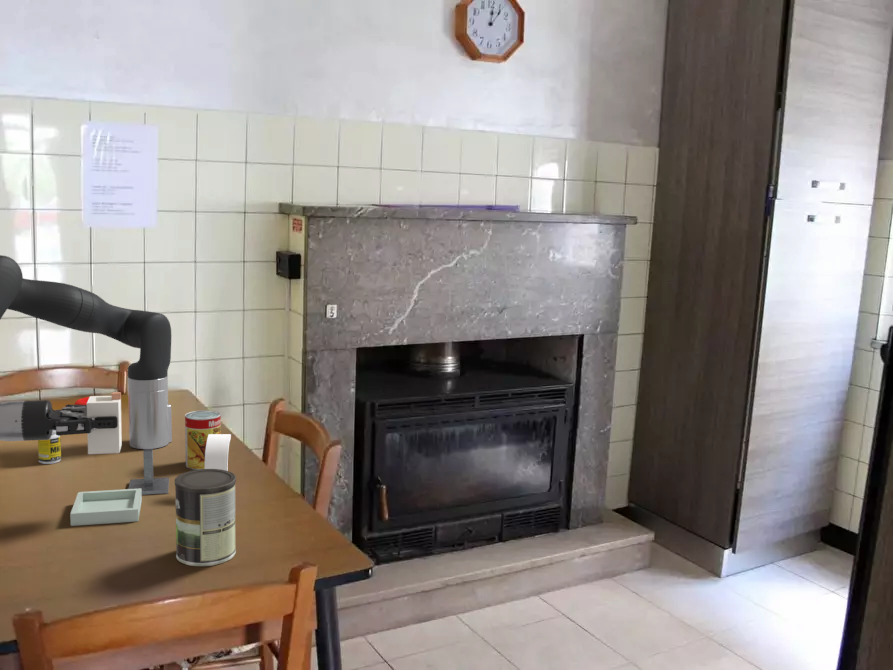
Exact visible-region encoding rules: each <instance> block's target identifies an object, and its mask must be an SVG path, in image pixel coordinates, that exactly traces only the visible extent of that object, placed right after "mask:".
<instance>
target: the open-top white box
mask: <svg viewBox="0 0 893 670" xmlns="http://www.w3.org/2000/svg"><path fill="white" fill-rule="evenodd" d="M88 397H89V399H88V402H87V416H94V417H105V416H116V417H117V423H118V425H117V427H116V428H108V429H96V430H94V431H91V433H88V434H87V455H102V454H120V452H121V449H122V445H123V443H122V442H123V441H122V440H123V439H122V436H123V435H122V392H120V391H117V392H116V391H115V392H114V391H113V392H111V395H90V396H88Z"/></svg>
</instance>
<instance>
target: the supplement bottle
mask: <svg viewBox="0 0 893 670" xmlns="http://www.w3.org/2000/svg"><path fill="white" fill-rule="evenodd" d="M61 440H62V439H61V436H58V435H56V430H52V435H51V438H50V439H48V440H37V447H38V448H37V451H38V455H37V456H38V463H40V464H42V465H52V464H58V463H59V462H61V460H62V445H61V442H62V441H61Z"/></svg>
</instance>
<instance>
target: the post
mask: <svg viewBox="0 0 893 670" xmlns="http://www.w3.org/2000/svg"><path fill="white" fill-rule="evenodd" d="M142 452H143V453H142V454H143V455H142V456H143V457H142V458H143V478H133V479H129V485H128V488H127V489H138V488H142V496H146V495H147V496H148V495H163V494H169V489H170V476H169V477H167V476H166V477H154V449H143V451H142Z"/></svg>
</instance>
